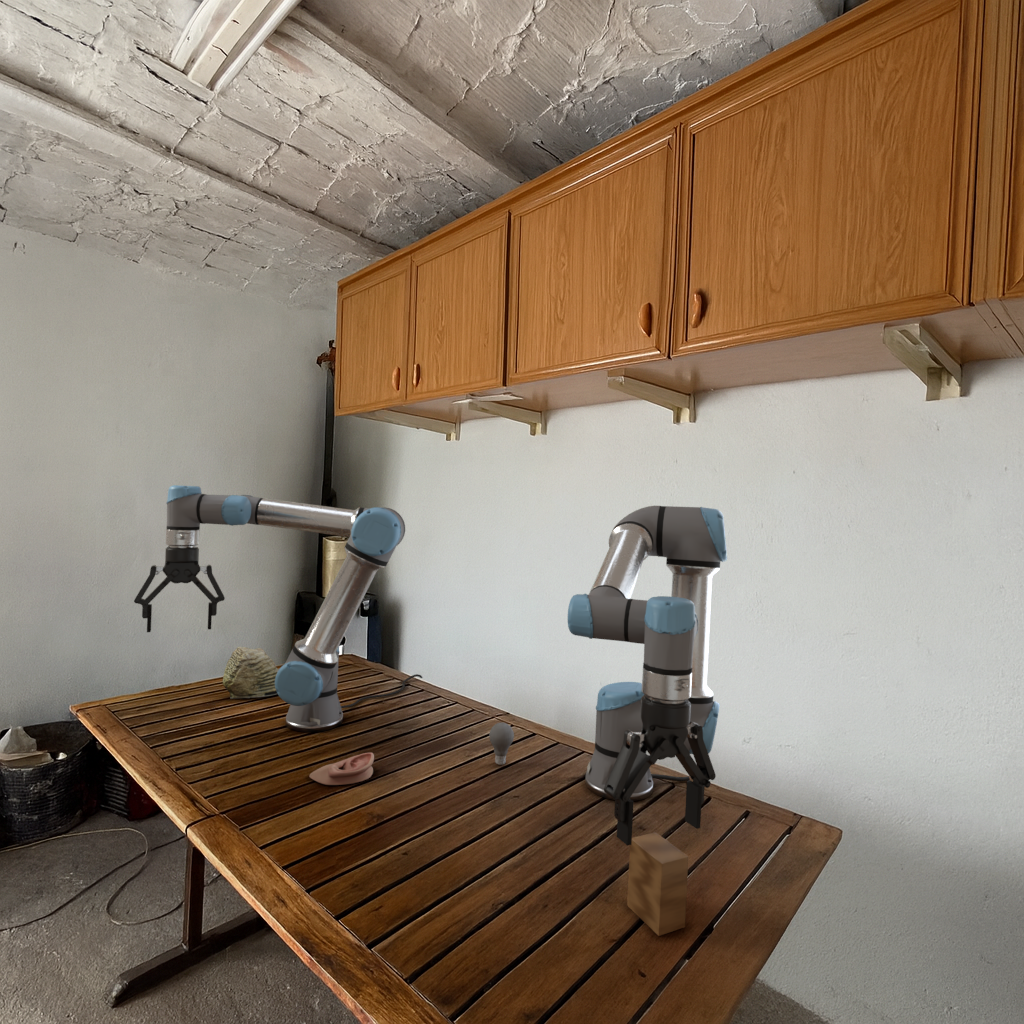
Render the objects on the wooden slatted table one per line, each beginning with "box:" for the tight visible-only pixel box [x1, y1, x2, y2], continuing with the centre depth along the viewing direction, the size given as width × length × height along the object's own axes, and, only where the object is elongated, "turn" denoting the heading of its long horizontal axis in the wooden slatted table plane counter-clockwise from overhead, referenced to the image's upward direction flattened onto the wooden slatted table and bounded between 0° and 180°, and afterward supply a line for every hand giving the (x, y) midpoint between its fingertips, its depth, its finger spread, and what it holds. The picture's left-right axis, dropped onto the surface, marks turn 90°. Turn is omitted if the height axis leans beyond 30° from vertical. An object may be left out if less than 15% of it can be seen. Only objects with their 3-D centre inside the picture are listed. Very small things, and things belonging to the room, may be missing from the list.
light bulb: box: [488, 722, 515, 766], centre depth 154 cm, size 6×6×10 cm
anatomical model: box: [308, 751, 375, 786], centre depth 144 cm, size 13×4×12 cm
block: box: [626, 831, 689, 937], centre depth 99 cm, size 8×5×11 cm
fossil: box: [222, 646, 280, 699], centre depth 198 cm, size 9×18×15 cm, turn 132°
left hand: (179, 629), depth 161 cm, fingers open, 13 cm apart
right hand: (659, 832), depth 99 cm, fingers open, 13 cm apart
